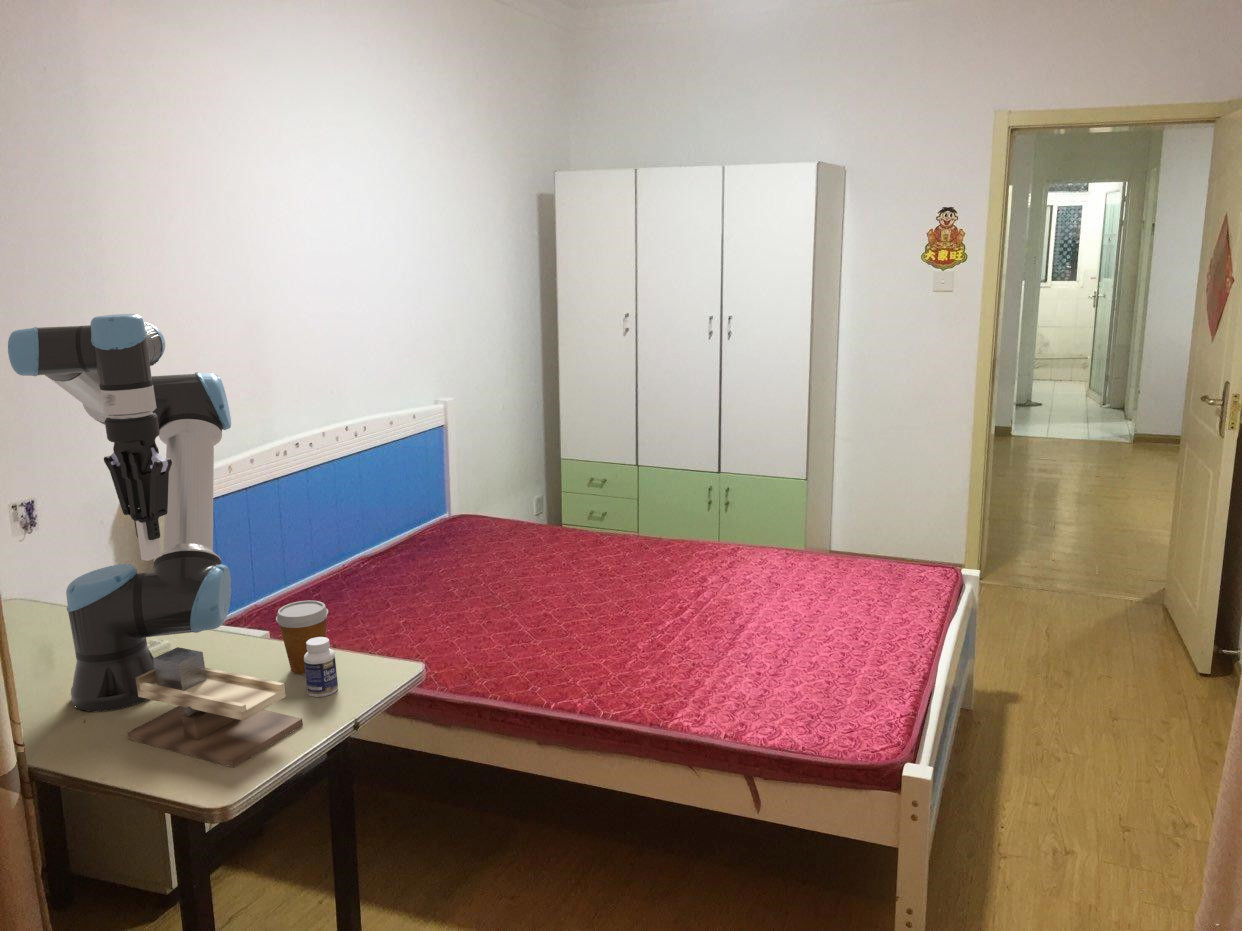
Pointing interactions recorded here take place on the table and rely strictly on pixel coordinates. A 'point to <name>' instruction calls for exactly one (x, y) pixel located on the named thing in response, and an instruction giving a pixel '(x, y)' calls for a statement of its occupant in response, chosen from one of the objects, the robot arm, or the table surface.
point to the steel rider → (180, 668)
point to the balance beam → (216, 694)
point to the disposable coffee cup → (301, 629)
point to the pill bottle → (320, 668)
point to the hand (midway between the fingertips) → (151, 557)
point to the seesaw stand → (215, 734)
